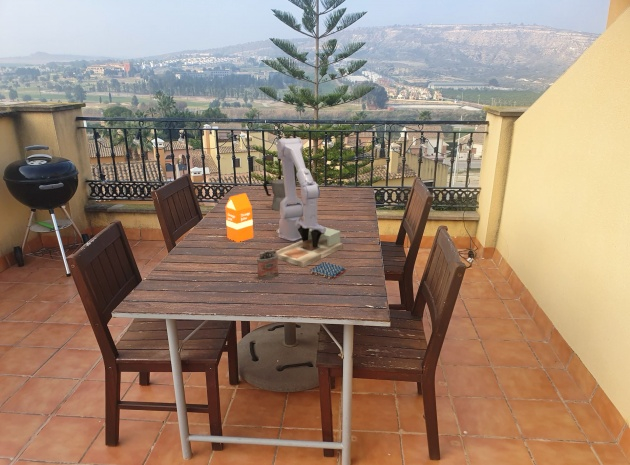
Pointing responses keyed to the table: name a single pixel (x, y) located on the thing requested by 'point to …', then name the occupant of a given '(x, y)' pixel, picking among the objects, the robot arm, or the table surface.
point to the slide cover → (328, 236)
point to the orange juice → (239, 218)
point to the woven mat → (328, 270)
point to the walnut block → (309, 245)
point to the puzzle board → (306, 252)
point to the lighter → (267, 264)
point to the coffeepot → (276, 192)
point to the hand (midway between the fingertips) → (310, 245)
